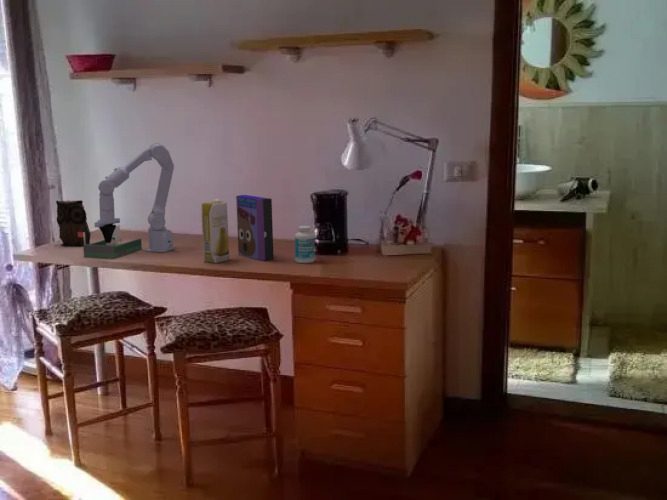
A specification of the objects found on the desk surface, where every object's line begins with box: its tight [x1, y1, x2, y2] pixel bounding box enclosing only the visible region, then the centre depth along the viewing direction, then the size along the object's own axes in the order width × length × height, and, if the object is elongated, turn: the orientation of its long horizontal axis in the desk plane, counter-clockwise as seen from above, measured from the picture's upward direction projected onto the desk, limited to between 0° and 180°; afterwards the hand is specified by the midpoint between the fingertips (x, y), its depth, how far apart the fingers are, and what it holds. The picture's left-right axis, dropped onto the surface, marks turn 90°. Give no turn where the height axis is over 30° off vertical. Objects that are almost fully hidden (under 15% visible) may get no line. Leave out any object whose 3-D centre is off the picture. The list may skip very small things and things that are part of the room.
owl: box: [55, 199, 92, 248], centre depth 329 cm, size 13×13×20 cm
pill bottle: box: [294, 225, 316, 264], centre depth 287 cm, size 8×7×14 cm
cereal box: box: [235, 194, 274, 262], centre depth 296 cm, size 17×5×24 cm, turn 40°
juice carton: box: [200, 198, 230, 264], centre depth 291 cm, size 9×8×24 cm
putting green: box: [78, 232, 143, 260], centre depth 311 cm, size 16×20×10 cm
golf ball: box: [106, 239, 117, 246], centre depth 310 cm, size 4×4×4 cm
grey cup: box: [112, 224, 121, 243], centre depth 339 cm, size 7×7×7 cm
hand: (108, 242), depth 309 cm, fingers closed, pressing on golf ball
